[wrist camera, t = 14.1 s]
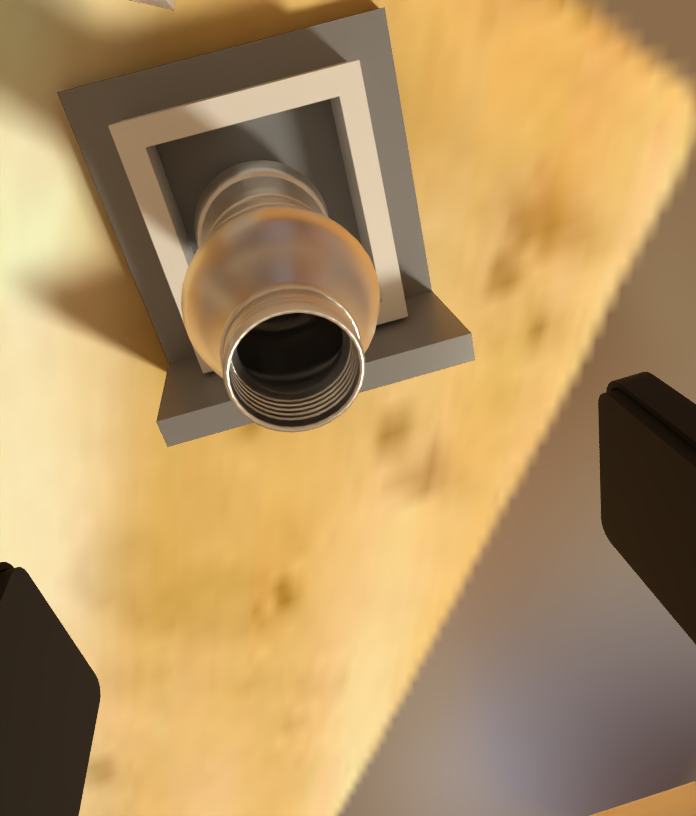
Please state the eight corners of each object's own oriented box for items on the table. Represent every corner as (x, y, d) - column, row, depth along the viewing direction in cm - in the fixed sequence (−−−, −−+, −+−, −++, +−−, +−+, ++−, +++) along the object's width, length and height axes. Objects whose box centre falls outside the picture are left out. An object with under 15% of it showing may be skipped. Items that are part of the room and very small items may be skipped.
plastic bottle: (183, 163, 32) (126, 271, 14) (315, 145, 32) (414, 226, 15) (210, 286, 35) (191, 498, 17) (330, 267, 35) (428, 453, 18)
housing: (62, 91, 30) (12, 96, 23) (380, 9, 31) (423, -11, 24) (179, 379, 38) (167, 446, 31) (430, 308, 39) (475, 359, 32)
